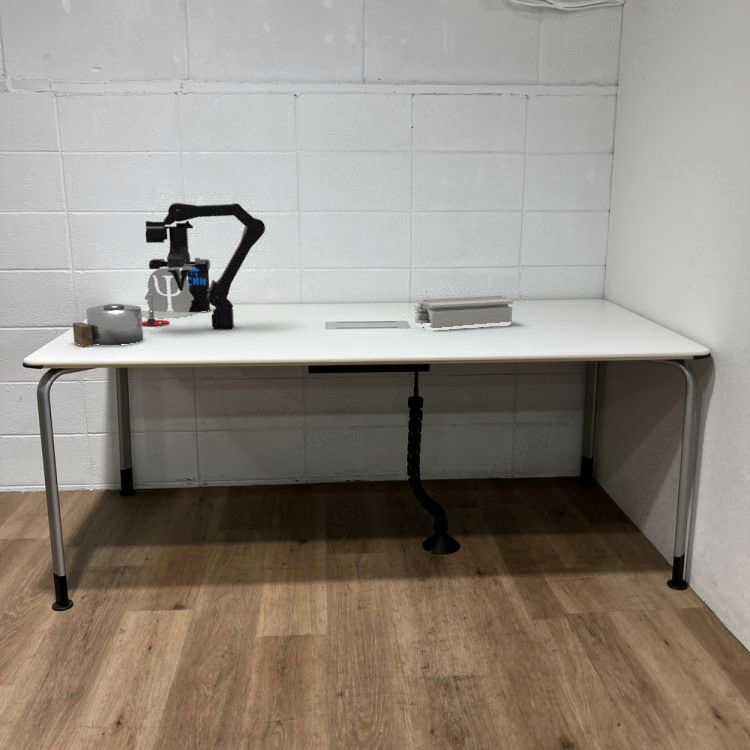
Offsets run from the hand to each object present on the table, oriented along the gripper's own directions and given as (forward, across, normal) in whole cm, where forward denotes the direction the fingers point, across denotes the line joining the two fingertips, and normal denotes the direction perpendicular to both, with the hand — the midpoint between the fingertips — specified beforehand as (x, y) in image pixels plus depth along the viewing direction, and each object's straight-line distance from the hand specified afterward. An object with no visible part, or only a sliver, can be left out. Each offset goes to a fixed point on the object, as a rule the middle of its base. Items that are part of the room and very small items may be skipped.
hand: (181, 290), depth 261 cm
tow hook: (+13, -11, +10) cm, 20 cm away
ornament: (+13, -12, +27) cm, 33 cm away
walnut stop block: (+13, -25, -24) cm, 37 cm away
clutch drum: (+13, -17, -18) cm, 28 cm away
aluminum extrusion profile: (+14, +95, +10) cm, 96 cm away
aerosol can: (+13, -1, +38) cm, 40 cm away
